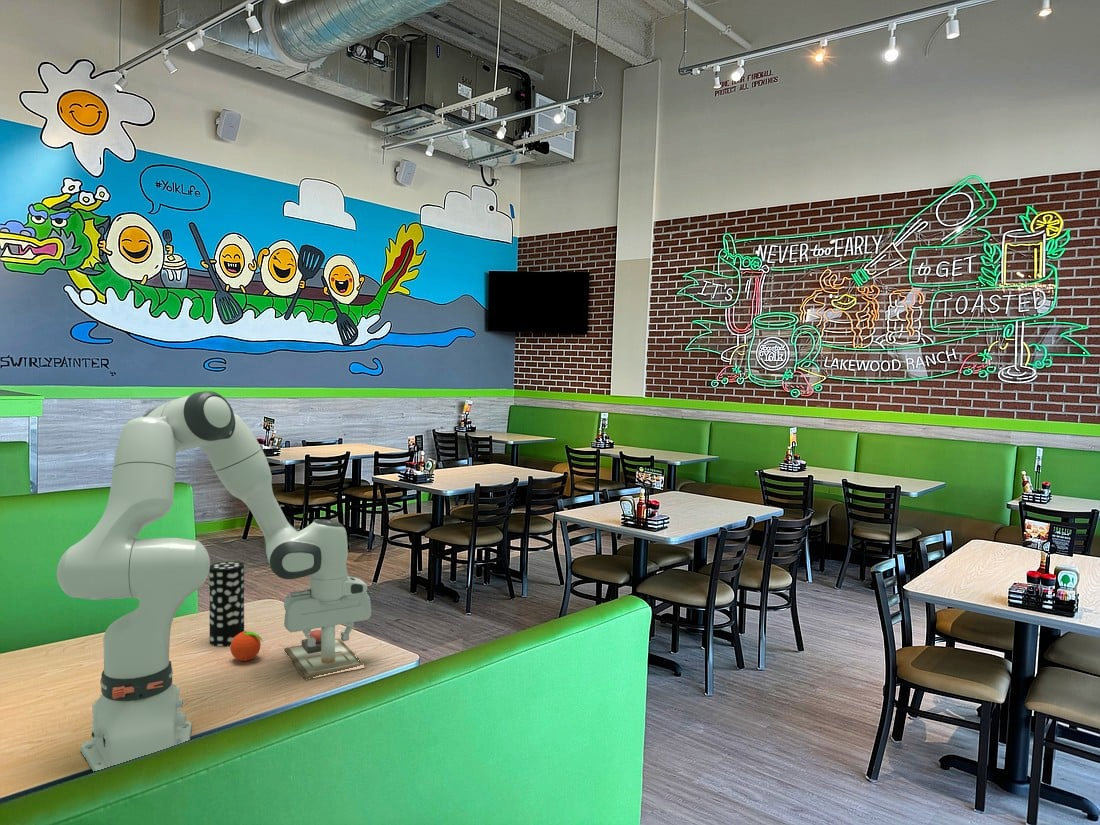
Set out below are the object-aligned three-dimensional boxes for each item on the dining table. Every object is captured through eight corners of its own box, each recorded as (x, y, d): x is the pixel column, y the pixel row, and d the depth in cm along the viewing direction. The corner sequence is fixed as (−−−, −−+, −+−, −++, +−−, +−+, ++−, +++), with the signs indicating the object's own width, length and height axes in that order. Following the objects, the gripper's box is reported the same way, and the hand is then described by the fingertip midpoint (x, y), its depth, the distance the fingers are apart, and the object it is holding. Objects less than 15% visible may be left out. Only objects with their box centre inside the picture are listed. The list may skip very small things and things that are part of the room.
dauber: (337, 661, 185) (337, 616, 184) (323, 664, 183) (323, 618, 182) (332, 656, 188) (333, 612, 187) (319, 659, 186) (319, 614, 185)
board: (364, 668, 184) (364, 657, 184) (305, 680, 176) (305, 668, 176) (339, 642, 201) (339, 631, 200) (284, 651, 193) (284, 641, 193)
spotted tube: (236, 647, 196) (235, 570, 194) (203, 646, 196) (203, 569, 194) (249, 635, 204) (249, 561, 203) (218, 634, 204) (217, 560, 203)
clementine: (269, 655, 190) (269, 627, 190) (256, 666, 184) (256, 637, 183) (239, 653, 191) (239, 625, 191) (224, 664, 184) (224, 635, 184)
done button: (326, 640, 193) (326, 633, 193) (311, 643, 191) (311, 636, 191) (321, 636, 196) (321, 629, 196) (307, 638, 194) (307, 631, 194)
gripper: (287, 596, 176) (287, 655, 176) (373, 584, 187) (373, 639, 187) (280, 589, 181) (280, 646, 182) (365, 578, 192) (364, 632, 193)
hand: (328, 643), depth 185 cm, fingers open, 7 cm apart
